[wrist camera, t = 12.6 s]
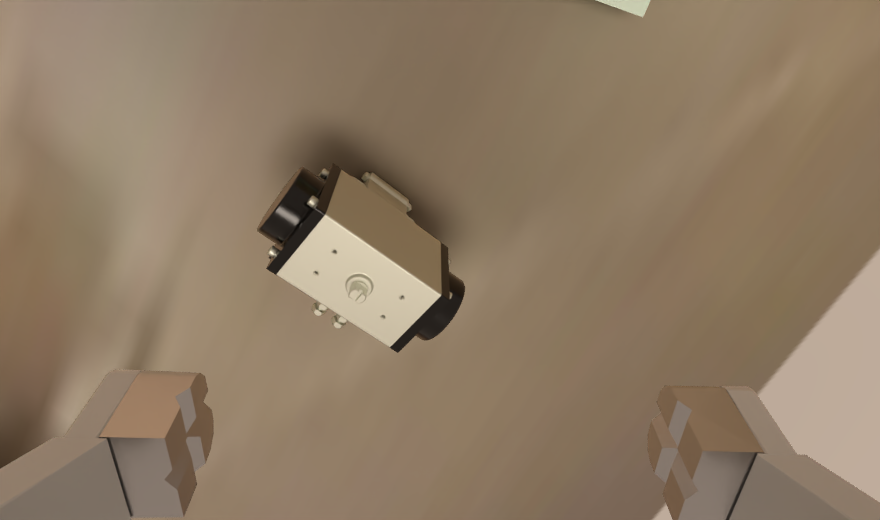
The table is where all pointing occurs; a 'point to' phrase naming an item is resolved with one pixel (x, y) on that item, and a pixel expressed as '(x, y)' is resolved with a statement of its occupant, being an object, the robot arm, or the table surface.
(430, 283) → the pneumatic valve
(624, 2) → the tray
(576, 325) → the table surface
